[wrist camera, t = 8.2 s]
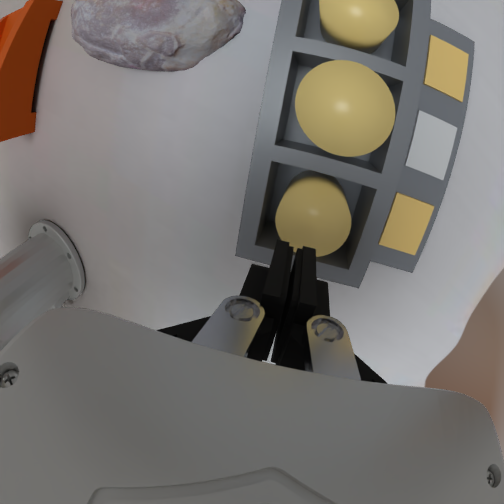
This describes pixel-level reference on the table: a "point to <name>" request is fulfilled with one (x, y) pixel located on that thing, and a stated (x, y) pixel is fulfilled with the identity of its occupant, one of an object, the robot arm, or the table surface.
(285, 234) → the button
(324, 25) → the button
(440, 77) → the strip
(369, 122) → the button mid
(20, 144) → the table surface
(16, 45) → the tape dispenser
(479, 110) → the table surface
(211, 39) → the stone
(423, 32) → the grey compartment tray
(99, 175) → the table surface
